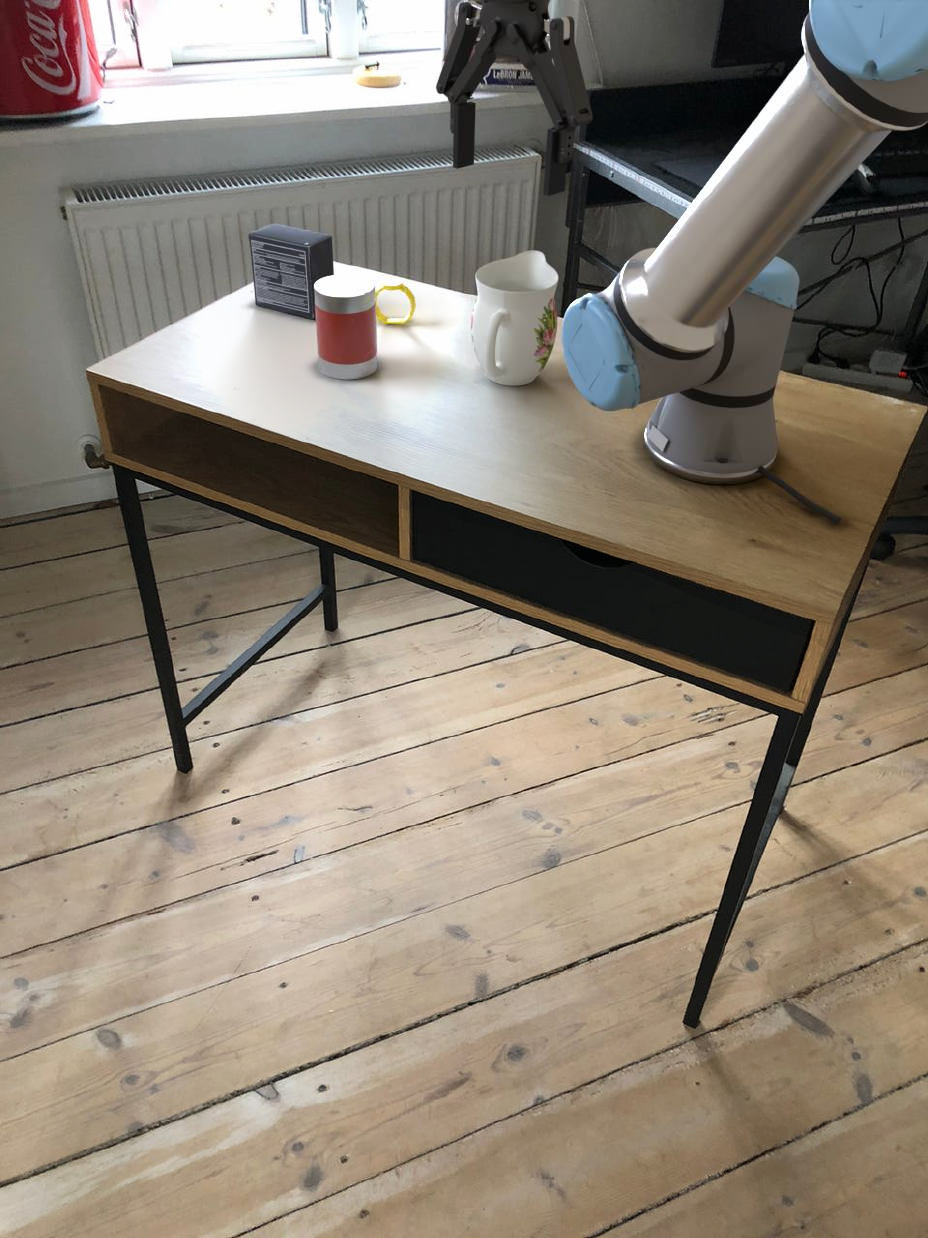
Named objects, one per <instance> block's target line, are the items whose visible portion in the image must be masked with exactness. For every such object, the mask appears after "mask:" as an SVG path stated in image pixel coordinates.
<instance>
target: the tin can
mask: <svg viewBox="0 0 928 1238" xmlns="http://www.w3.org/2000/svg"><path fill="white" fill-rule="evenodd" d="M314 293H315V316H316V318H315V328H316V329H315V330H316V331H315V332H316V345H317V354H318V364H319V365H318V366H319V367H318V368H319V371H320V372H321V374H323V375H325V376H327V377H329V378H332V379H336V380H343V381H344V380H345V381H350V380H352V381H353V380H359V379H363V378H367V377H370V376H371V375H373V374H374V373H375V372H376V371H377V368H378V333H377V332H378V331H377V330H378V329H377V316H376V301H375V293H376V285H375V283H374V281H373V280H371V279H370V278H367V277H365V276H361V275H356V274H334V275H333V276H328V277H325V278H322V279H320V280H318V281H317V282H316V283H315V285H314Z"/></svg>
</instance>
